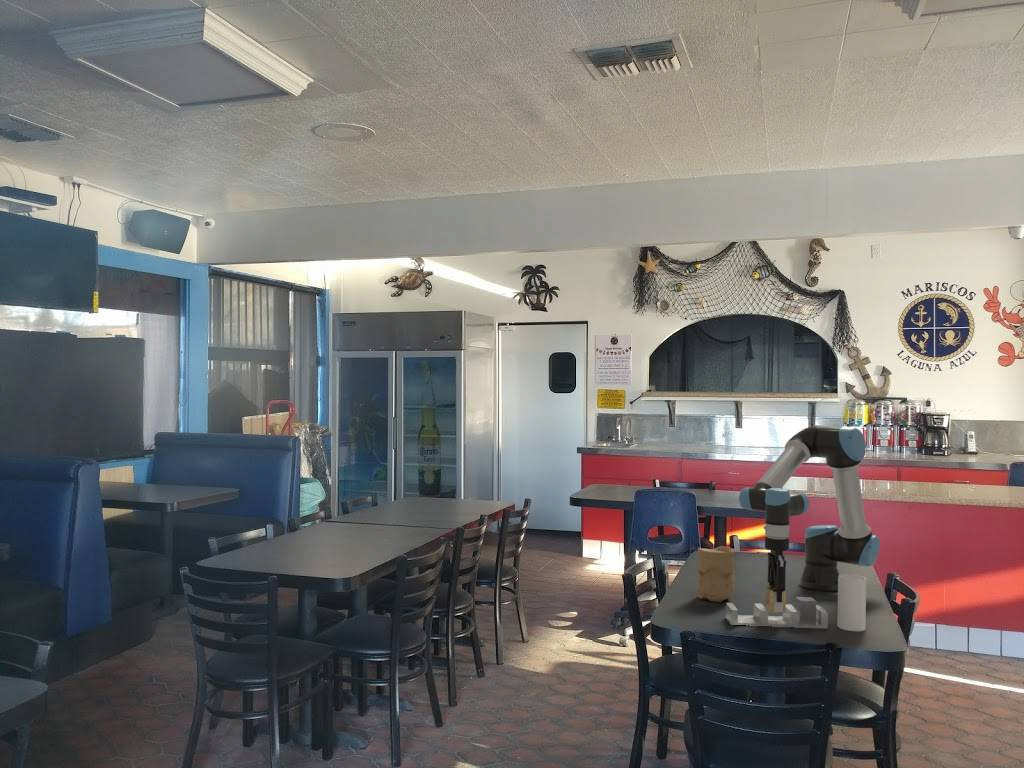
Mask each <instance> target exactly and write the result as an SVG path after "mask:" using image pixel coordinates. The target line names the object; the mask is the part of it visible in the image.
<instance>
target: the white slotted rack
mask: <svg viewBox="0 0 1024 768" xmlns="http://www.w3.org/2000/svg"><path fill="white" fill-rule="evenodd" d="M725 619H726V620H727V622H728V621H729V622H728V623H729V625H730V624H731V625H746V626H745V627H757V626H769V627H768V628H790V627H794V628H796V629H797V628H799V629H825V630H826V629H829V628H828V626H829V625H828V623H829V620H828V619H829V612H828V611H827V610H825V608H823V607H822V606H821V605H819V604H817V600H816V599H814V597H810V596H809V597H808V596H796V597H795V607H794V605H792V604H786V613H782V616H774V615H771V616H770V615H769V611H768V610H767V609H766V606H765V605H763V603H758V602H757V603H753V615H750V614H749V615H745V614H743V615H741V614H739V610H738V608H737V607H736V605H735V604H734V603H733V602H725ZM731 625H730V626H731ZM748 625H749V626H748ZM770 626H772V627H770ZM794 628H793V629H794Z"/></svg>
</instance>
